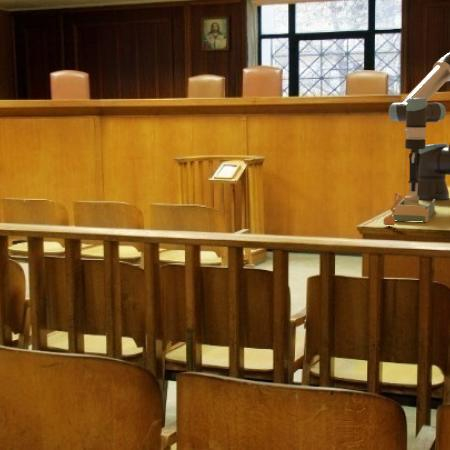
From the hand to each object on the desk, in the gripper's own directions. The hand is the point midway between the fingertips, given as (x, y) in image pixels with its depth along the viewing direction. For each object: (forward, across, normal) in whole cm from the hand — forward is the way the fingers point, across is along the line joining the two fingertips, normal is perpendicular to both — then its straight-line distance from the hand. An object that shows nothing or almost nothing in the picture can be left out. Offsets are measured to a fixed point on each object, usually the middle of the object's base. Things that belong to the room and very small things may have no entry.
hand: (413, 199), depth 302 cm
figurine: (+4, +44, -2) cm, 44 cm away
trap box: (+4, +17, +3) cm, 17 cm away
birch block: (+1, +7, 0) cm, 7 cm away
